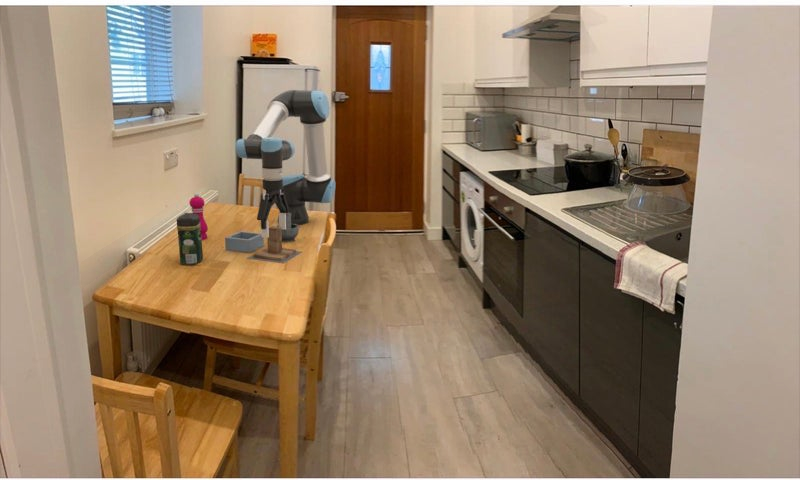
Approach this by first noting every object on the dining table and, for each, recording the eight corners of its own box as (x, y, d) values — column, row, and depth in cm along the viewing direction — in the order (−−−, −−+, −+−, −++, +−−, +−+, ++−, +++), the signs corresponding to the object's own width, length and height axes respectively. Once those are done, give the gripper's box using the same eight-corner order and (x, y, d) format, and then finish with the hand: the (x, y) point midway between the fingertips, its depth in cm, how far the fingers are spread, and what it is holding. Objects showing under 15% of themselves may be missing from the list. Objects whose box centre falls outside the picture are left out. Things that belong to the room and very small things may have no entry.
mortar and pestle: (298, 244, 232) (297, 217, 229) (275, 244, 231) (275, 217, 228) (299, 237, 243) (299, 211, 240) (278, 237, 242) (277, 211, 238)
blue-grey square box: (240, 244, 230) (240, 231, 228) (264, 247, 227) (263, 233, 225) (225, 251, 219) (224, 237, 218) (249, 254, 216) (249, 240, 215)
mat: (267, 249, 225) (267, 247, 224) (302, 253, 220) (302, 251, 220) (246, 260, 210) (246, 258, 210) (283, 265, 206) (283, 263, 205)
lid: (269, 249, 222) (268, 222, 219) (295, 252, 219) (295, 225, 216) (253, 257, 211) (252, 229, 208) (281, 261, 208) (280, 233, 205)
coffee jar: (183, 258, 210) (179, 211, 205) (204, 257, 212) (201, 211, 207) (177, 266, 201) (173, 217, 196) (200, 265, 202) (196, 217, 197)
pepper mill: (187, 239, 234) (183, 194, 229) (197, 235, 241) (194, 191, 236) (201, 241, 233) (198, 195, 227) (211, 237, 239) (208, 192, 234)
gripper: (264, 184, 194) (266, 241, 199) (296, 175, 217) (297, 226, 223) (245, 182, 196) (248, 239, 201) (279, 174, 219) (281, 225, 225)
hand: (274, 233), depth 212 cm, fingers open, 13 cm apart
